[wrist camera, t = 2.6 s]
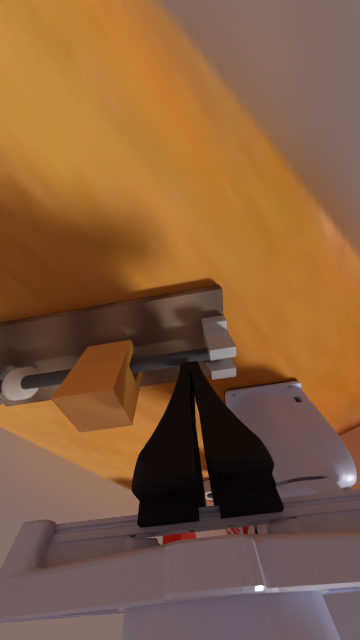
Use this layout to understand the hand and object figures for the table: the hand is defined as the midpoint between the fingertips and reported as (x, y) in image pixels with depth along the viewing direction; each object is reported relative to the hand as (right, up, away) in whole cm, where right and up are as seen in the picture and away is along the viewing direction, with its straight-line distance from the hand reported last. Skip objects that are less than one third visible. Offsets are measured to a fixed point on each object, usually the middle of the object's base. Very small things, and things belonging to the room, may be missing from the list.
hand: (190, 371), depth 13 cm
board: (-9, +1, +4) cm, 10 cm away
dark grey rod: (-8, 0, +3) cm, 8 cm away
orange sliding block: (-7, 0, +3) cm, 7 cm away
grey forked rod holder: (+2, +3, +4) cm, 5 cm away
